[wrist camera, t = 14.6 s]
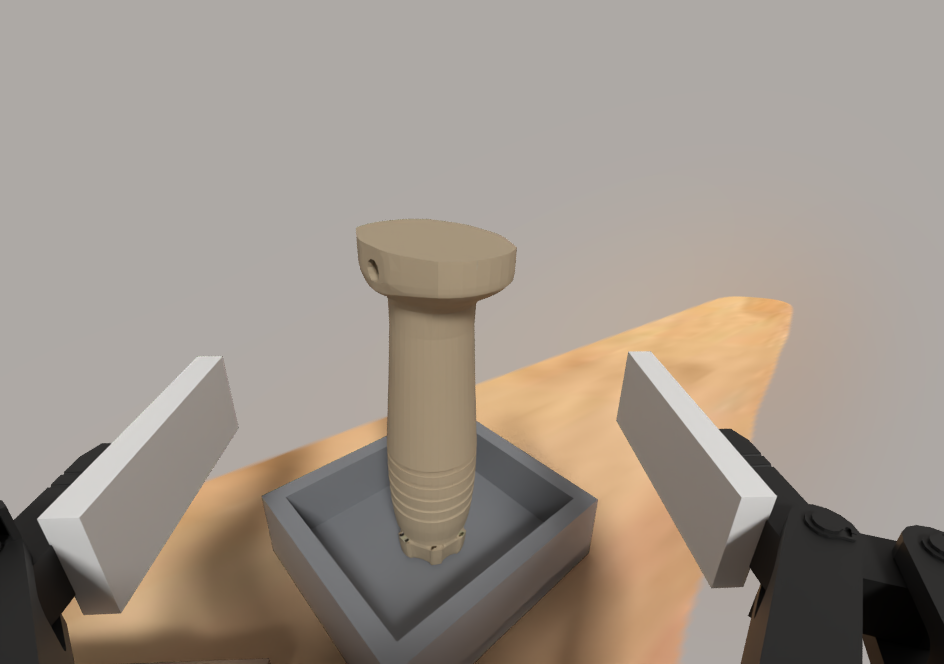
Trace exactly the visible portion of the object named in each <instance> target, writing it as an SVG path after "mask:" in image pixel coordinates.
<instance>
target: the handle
mask: <svg viewBox="0 0 944 664" xmlns="http://www.w3.org/2000/svg"><path fill="white" fill-rule="evenodd" d="M356 234H357V249H358V260H359V265H360V269H361V272H362V274H363V276H364V278H365V280H366V281H367V283H368V284H369V286H370V287H371V288H373V289H374V290H375V291H376V292H378V293H380V294H382V295H384V296H387V298H388V307H389V324H390V325H389V385H388V420H387V458H388V472H389V482H390V490H391V497H392V503H393V508H394V513H395V516H396V520H397V523H398V526H399V527H400V528H401V531H400V532H399V533H398V534H399V540H400V545H401V548H402V551H403V552H404V554H405V555H406V556H408V557H410V558H413V557H414V558H420V559H423V560H425V561H427V562H429V563H430V564H431V565H437V564H441V563H442V561H443V560H444V559H445V558H446V557H448V556H449V555H452V554H457V553H458V552H460V550H461V549H462V547H463V544H464V540H465V535H466V530H465V529H464V525H465V523H466V520H467V517H468V513H469V510H470V505H471V500H472V494H473V487H474V480H475V469H476V447H477V433H476V396H475V339H474V322H475V310H476V303H477V301H479V300H482V299H485V298H488V297H490V296H492V295H494V294H496V293H498V292H500V291H501V290H503V289H504V288H505V287H506V286H508V285H509V284H510V283H511V282H512V281H513V278H514V272H515V263H516V251H517V247H515V246H514V245H513V244H512V243H511V242H510V241H508V240H507V239H506V238H504V237H502V236H501V235H499V234H496V233H493V232H490V231H487V230H483V229H480V228H477V227H473V226H469V225H465V224H459V223H452V222H446V221H438V220H431V219H402V220H401V219H400V220H389V221H382V222H375V223H370V224H366V225H362V226H359V227H357V228H356Z"/></svg>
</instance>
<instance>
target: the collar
mask: <svg viewBox="0 0 944 664" xmlns="http://www.w3.org/2000/svg"><path fill="white" fill-rule="evenodd" d="M132 664H270V660H269V658H267V659H240V660H213V661H186V662H159V663H132Z"/></svg>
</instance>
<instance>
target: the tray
mask: <svg viewBox="0 0 944 664" xmlns="http://www.w3.org/2000/svg"><path fill="white" fill-rule="evenodd" d="M476 433H477V447H476V469H475V480H474V487H473V494H472V500H471V505H470V510H469V513H468V517H467V520H466V523H465V525H464V529H465V530H466V535H465V540H464V544H463V547H462V549H461V550H460V552H458V553H457V554H452V555H449V556H448V557H446V558H445V559H444V560H443V561H442V563H441V564H437V565H431V564H430V563H429V562H427V561H425V560H423V559H420V558H414V557H413V558H410V557H408V556H406V555H405V554H404V552H403V551H402V548H401V545H400V540H399V534H398V533H399V532H400V531H401V528H400V527H399V526H398V523H397V520H396V516H395V513H394V508H393V503H392V497H391V490H390V482H389V472H388V458H387V436H385V437H383V438H381V439H379V440H377V441H375V442H373V443H371V444H369V445H367V446H364V447H362V448H360V449H358V450H356V451H354V452H352V453H350V454H348V455H346V456H344V457H342V458H340V459H337V460H335V461H333V462H331V463H329V464H327V465H325V466H323V467H321V468H319V469H317V470H315V471H313V472H310V473H308V474H306V475H304V476H302V477H300V478H298V479H296V480H294V481H292V482H290V483H288V484H286V485H283V486H281V487H279V488H277V489H275V490H273V491H271V492H269V493H267V494H265V495H263V496H262V501H263V505H264V510H265V515H266V519H267V524H268V528H269V533H270V538H271V542H272V547H273V551H274V552H275V554H276V555H277V557H278V558H279V560H280V561H281V563H282V564H283V566H284V567H285V569H286V570H287V572H288V574H289V575H290V577H291V578H292V580H293V581H294V583H295V584H296V586H297V587H298V589H299V590H300V592H301V594H302V595H303V597H304V598H305V600H306V601H307V603H308V604H309V606H310V607H311V609H312V610H313V612H314V613H315V615H316V617H317V618H318V620H319V621H320V623H321V624H322V626H323V627H324V629H325V630H326V632H327V633H328V635H329V637H330V638H331V640H332V641H333V643H334V644H335V646H336V647H337V649H338V650H339V652H340V653H341V655H342V656H343V658H344V660H345V661H346V663H347V664H473V663H474V662H475V661H476V660H478V659H479V658H480V657H481V656H482V655H483V654H484V653H485V652H486V651H487V650H488V649H489V648H490V647H491V646H492V645H493V644H494V643H495V642H496V641H497V640H498V639H499V638H500V637H502V636H503V635H504V634H505V633H506V632H507V631H508V630H509V629H510V628H511V627H512V626H513V625H514V624H515V623H516V622H517V621H518V620H519V619H520V618H521V617H522V616H523V615H524V614H526V613H527V612H528V611H529V610H530V609H531V608H532V607H533V606H534V605H535V604H536V603H537V602H538V601H539V600H540V599H541V598H542V597H543V596H544V595H545V594H546V593H547V592H548V591H549V590H551V589H552V588H553V587H554V586H555V585H556V584H557V583H558V582H559V581H560V580H561V579H562V578H563V577H564V576H565V575H566V574H567V573H568V572H569V571H570V570H571V569H572V568H573V567H575V566H576V565H577V564H578V563H579V562H580V561H581V560H582V559H583V558H584V557H585V556H586V555H587V554H588V553H589V549H590V543H591V537H592V531H593V525H594V519H595V513H596V508H597V502H598V499H596V498H595V497H593V496H592V495H590V494H588V493H587V492H585V491H584V490H582V489H581V488H579V487H578V486H576V485H575V484H573V483H571V482H570V481H568V480H567V479H565V478H564V477H562V476H561V475H559V474H558V473H556V472H554V471H553V470H551V469H550V468H548V467H547V466H545V465H544V464H542V463H541V462H539V461H537V460H536V459H534V458H533V457H531V456H530V455H528V454H527V453H525V452H523V451H522V450H520V449H519V448H517V447H516V446H514V445H513V444H511V443H510V442H508V441H506V440H505V439H503V438H502V437H500V436H499V435H497V434H496V433H494V432H493V431H491V430H489V429H488V428H486V427H485V426H483V425H482V424H480V423H479V422H477V421H476Z"/></svg>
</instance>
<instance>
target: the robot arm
mask: <svg viewBox="0 0 944 664" xmlns="http://www.w3.org/2000/svg"><path fill="white" fill-rule="evenodd" d="M616 421H617V422H618V424H619V426H620V428H621V430H622V431H623V433H624V435H625V437H626V438H627V440H628V442H629V444H630V445H631V447H632V449H633V451H634V452H635V454H636V456H637V458H638V460H639V461H640V463H641V465H642V467H643V468H644V470H645V472H646V474H647V475H648V477H649V479H650V481H651V482H652V484H653V486H654V488H655V490H656V491H657V493H658V495H659V497H660V498H661V500H662V502H663V504H664V505H665V507H666V509H667V511H668V512H669V514H670V516H671V518H672V520H673V521H674V523H675V525H676V527H677V528H678V530H679V532H680V534H681V535H682V537H683V539H684V541H685V543H686V544H687V546H688V548H689V550H690V551H691V553H692V555H693V557H694V558H695V560H696V562H697V564H698V565H699V567H700V569H701V571H702V573H703V574H704V576H705V578H706V580H707V581H708V583H709V585H710V587H711V588H731V587H743V586H744V583H745V581H746V578H747V576H748V573H749V570H750V568H751V570H752V571H753V573H754V574H755V576H756V577H757V579H758V580H759V582H760V583H761V584H760V587H759V589H758V592H757V594H756V597H755V600H754V602H753V605H752V607H751V610H750V612H749V615H748V616H749V617H751V621H750V626H749V630H748V635H747V639H746V643H745V647H744V652H743V656H742V661H741V664H862V638H863V641H864V645H865V647H866V651H867V654H868V657H869V660H870V663H871V664H944V532H942V531H939V530H936V529H934V528H931V527H924V526H918V525H915V526H909V527H906V528H905V529H904V530H903V531H902V533H901V535H900V537H899V538H898V540H897V541H894V540H889V539H885V538H879V537H875V536H870V535H865V534H861V533H859V531H857V529H856V528H855V527H854V526H853V524H852V523H850V522H849V521H847V520H846V519H845V518H843V517H842V516H841V515H839V514H837V513H835V512H833V511H831V510H829V509H827V508H823V507H819V506H816V505H813V504H812V505H811V504H808V503H807V502H806V501H805V500H804V499H803V498H802V497H801V496H800V495H799V494H798V492H797V491H796V490H795V489H794V488H793V487H792V486H791V485H790V484H789V483H788V482H787V481H786V480H785V479H784V477H783V476H782V475H780V473H779V472H778V471H777V470H776V469H775V468H774V467H771V464H770V462H769V461H768V460H767V459H766V458H765V457H764V456H761V453H760V452H759V451H758V450H757V449H756V447H755V446H754V445H753V444H752V443H751V442H750V441H749V440H748V439H746V438H744V437H743V436H741V435H740V434H738V433H737V432H735V431H733V430H732V429H718V428H717V427H716V426H715V425H714V424H713V422H712V421H711V420H710V419H709V418H708V417H707V416H706V414H705V413H704V412H703V411H702V410H701V409H700V407H699V406H698V405H697V404H696V403H695V402H694V401H693V399H692V398H691V397H690V396H689V395H688V394H687V393H686V391H685V390H684V389H683V388H682V387H681V386H680V385H679V383H678V382H677V381H676V380H675V379H674V378H673V376H672V375H671V374H670V373H669V372H668V371H667V370H666V368H665V367H664V366H663V365H662V364H661V363H660V362H659V360H658V359H657V358H656V357H655V356H654V355H653V353H652V352H651V351H650V352H628V357H627V362H626V368H625V374H624V380H623V385H622V391H621V397H620V403H619V408H618V414H617V420H616ZM238 428H239V427H238V423H237V418H236V413H235V409H234V405H233V401H232V396H231V391H230V387H229V382H228V378H227V373H226V369H225V365H224V360H223V356H199V357H197V358H196V359H195V360H194V361H193V362H192V363H191V364H190V365H189V366H188V367H187V368H186V369H185V370H184V371H183V372H182V373H181V374H180V375H179V376H178V377H177V378H176V379H175V380H174V381H173V382H172V383H171V384H170V385H169V386H168V387H167V388H166V389H165V390H164V391H163V392H162V393H161V394H160V395H159V396H158V397H157V398H156V399H155V400H154V401H153V402H152V403H151V404H150V405H149V406H148V407H147V408H146V409H145V411H143V412H142V413H141V414H140V415H139V416H138V417H137V418H136V419H135V420H134V421H133V422H132V423H131V424H130V425H129V426H128V427H127V428H126V429H125V430H124V431H123V432H122V433H121V434H120V435H119V436H118V438H117V439H116V440H115V441H114V442H113V443H102V444H100V445H99V446H97V447H95V448H94V449H92V450H90V451H89V452H87V453H85V454H84V455H82V456H80V457H79V458H78V459H77V460H76V461H75V462H74V463H73V464H72V465H71V466H70V467H69V468H68V469H67V470H66V471H65V472H64V475H60V476H59V477H58V478H57V479H56V480H55V481H54V482H53V483H52V484H51V487H50V488H47V489H46V490H45V491H44V492H43V493H42V494H41V495H39V496H38V497H37V498H36V499H35V500H34V501H33V502H32V503H31V504H30V505H29V506H28V507H27V508H26V509H25V510H24V511H23V512H22V513H21V514H20V515H19V516H18V517H17V518H16V519H14V520H13V519H12V517H11V515H10V513H9V511H8V509H7V507H6V505H5V504H4V503H3V501H1V500H0V664H74V659H73V654H72V649H71V644H70V638H69V633H68V628H67V624H66V622H65V620H64V618H63V616H62V612H63V611H64V610H65V608H66V607H67V606H68V604H69V603H70V602H71V600H72V599H73V598H74V596H75V598H76V600H77V602H78V604H79V606H80V609H81V611H82V613H83V615H93V614H117V613H121V612H122V611H123V609H124V608H125V606H126V605H127V603H128V601H129V600H130V598H131V597H132V595H133V594H134V592H135V590H136V589H137V587H138V586H139V584H140V583H141V581H142V579H143V578H144V576H145V575H146V573H147V572H148V570H149V568H150V567H151V565H152V564H153V562H154V561H155V559H156V557H157V556H158V554H159V553H160V551H161V549H162V548H163V546H164V545H165V543H166V542H167V540H168V538H169V537H170V535H171V534H172V532H173V531H174V529H175V527H176V526H177V524H178V523H179V521H180V520H181V518H182V516H183V515H184V513H185V512H186V510H187V509H188V507H189V505H190V504H191V502H192V501H193V499H194V498H195V496H196V494H197V493H198V491H199V490H200V488H201V487H202V485H203V483H204V482H205V480H206V479H207V477H208V476H209V474H210V472H211V471H212V469H213V468H214V466H215V464H216V463H217V461H218V460H219V458H220V457H221V455H222V454H223V452H224V450H225V449H226V447H227V446H228V444H229V442H230V441H231V439H232V438H233V436H234V435H235V433H236V432H237V430H238Z"/></svg>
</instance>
